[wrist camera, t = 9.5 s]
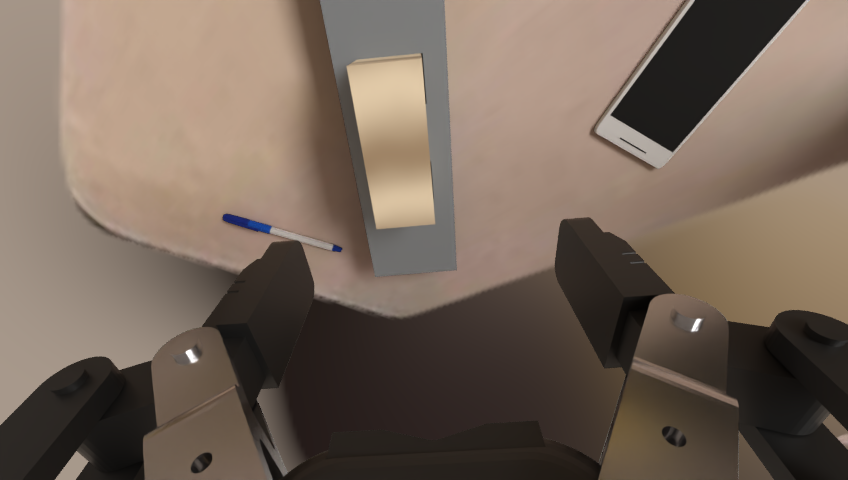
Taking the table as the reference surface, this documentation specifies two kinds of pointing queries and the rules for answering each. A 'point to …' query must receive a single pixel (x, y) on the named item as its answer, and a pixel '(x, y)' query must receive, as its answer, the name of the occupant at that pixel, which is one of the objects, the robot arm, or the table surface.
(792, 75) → the table surface
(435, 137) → the slotted rail
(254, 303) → the robot arm
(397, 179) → the tan rectangular block
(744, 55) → the smartphone
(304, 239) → the ballpoint pen
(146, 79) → the table surface
